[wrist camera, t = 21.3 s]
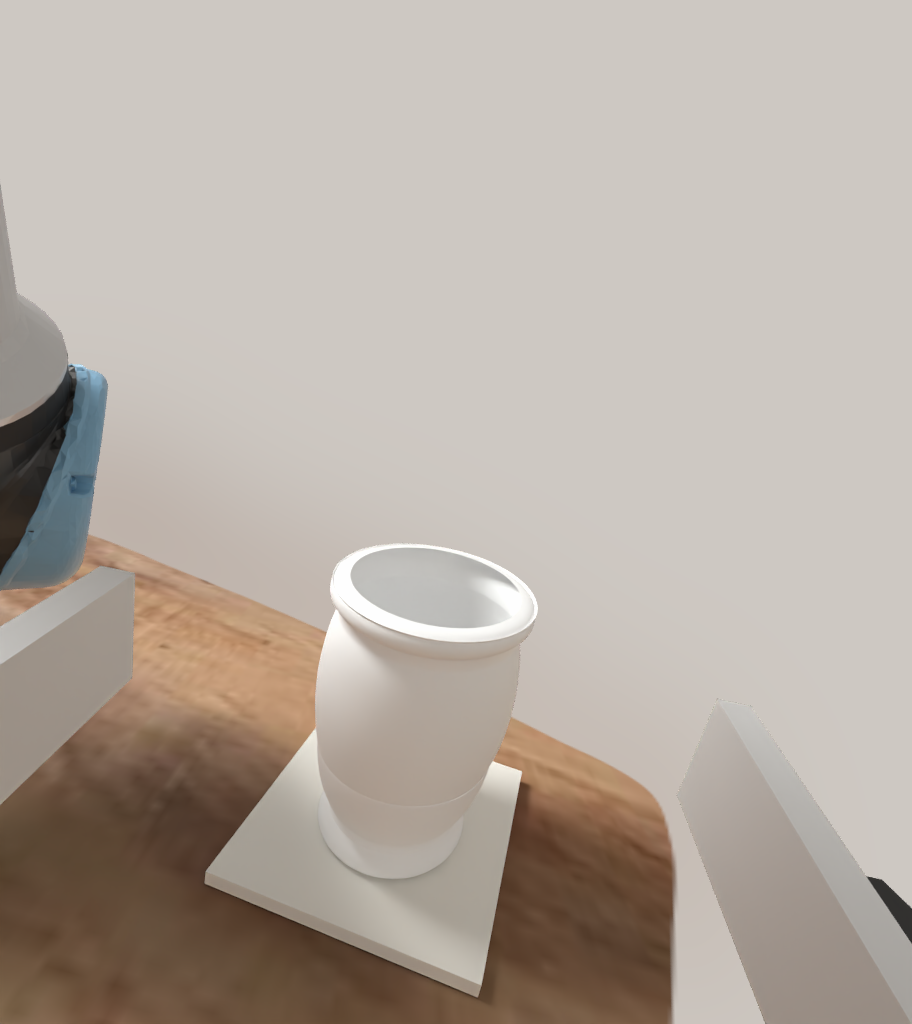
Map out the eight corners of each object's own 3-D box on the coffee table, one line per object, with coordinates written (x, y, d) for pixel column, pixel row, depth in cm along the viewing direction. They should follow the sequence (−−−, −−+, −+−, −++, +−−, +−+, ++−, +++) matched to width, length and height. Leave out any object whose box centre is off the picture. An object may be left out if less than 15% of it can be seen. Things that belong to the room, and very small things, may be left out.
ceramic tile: (204, 883, 28) (205, 871, 28) (330, 715, 41) (332, 706, 41) (477, 997, 26) (481, 985, 25) (519, 780, 39) (522, 771, 39)
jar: (356, 729, 39) (389, 526, 35) (498, 788, 37) (554, 577, 32) (257, 848, 29) (285, 588, 25) (442, 940, 27) (511, 669, 22)
